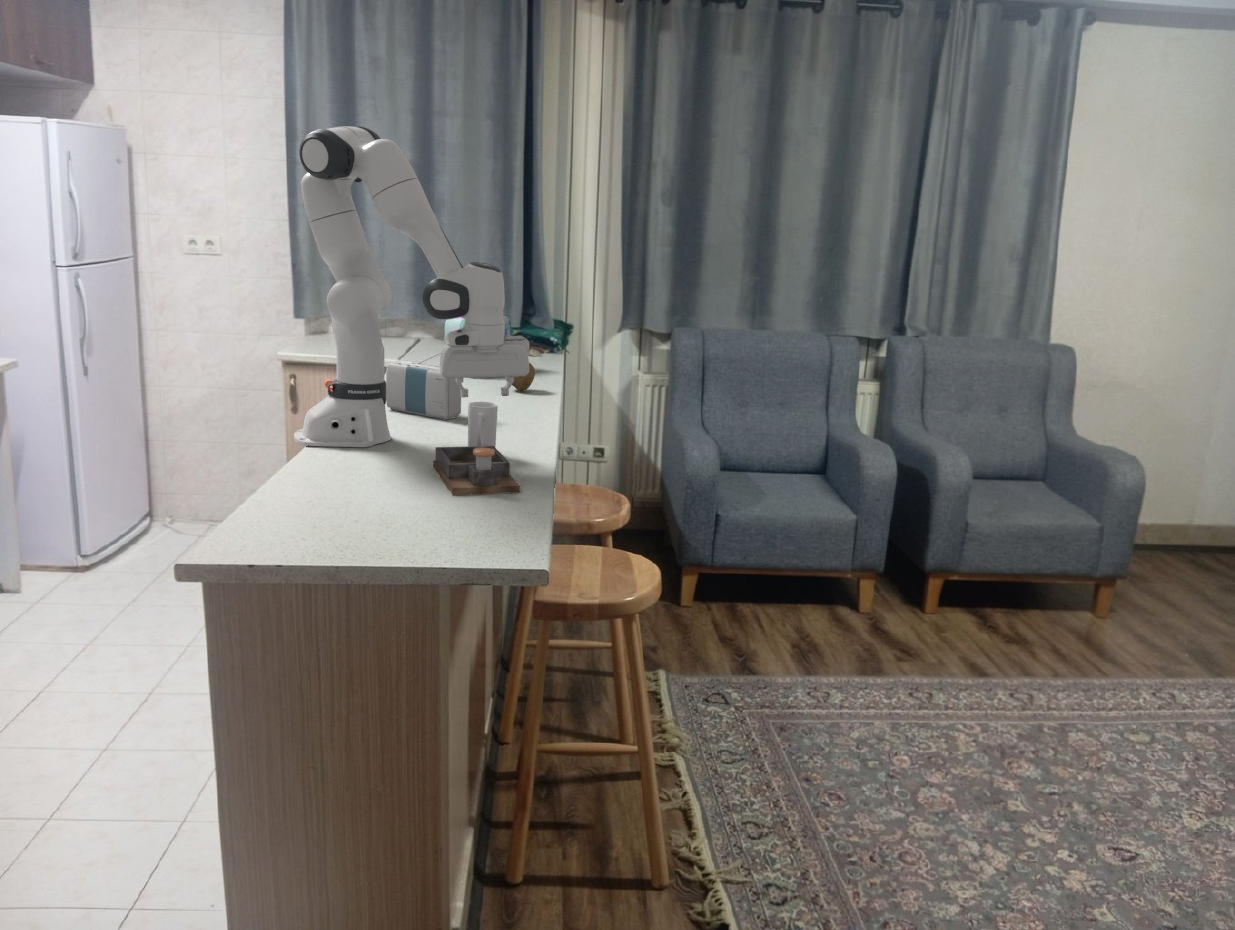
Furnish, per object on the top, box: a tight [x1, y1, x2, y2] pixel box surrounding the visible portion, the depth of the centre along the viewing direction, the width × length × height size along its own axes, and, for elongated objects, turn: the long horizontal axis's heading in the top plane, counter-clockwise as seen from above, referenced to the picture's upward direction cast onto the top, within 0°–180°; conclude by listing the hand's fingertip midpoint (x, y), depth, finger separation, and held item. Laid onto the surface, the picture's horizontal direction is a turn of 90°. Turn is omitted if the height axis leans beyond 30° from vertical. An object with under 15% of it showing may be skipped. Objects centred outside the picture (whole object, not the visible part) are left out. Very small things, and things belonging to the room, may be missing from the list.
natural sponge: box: [505, 361, 536, 392], centre depth 315 cm, size 9×9×10 cm
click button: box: [473, 448, 495, 470], centre depth 208 cm, size 4×4×5 cm
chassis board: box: [432, 445, 521, 496], centre depth 216 cm, size 14×22×4 cm, turn 20°
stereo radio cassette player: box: [385, 351, 463, 421], centre depth 273 cm, size 21×8×20 cm, turn 62°
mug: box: [467, 401, 498, 448], centre depth 234 cm, size 10×7×12 cm, turn 0°
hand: (484, 396), depth 231 cm, fingers open, 8 cm apart
